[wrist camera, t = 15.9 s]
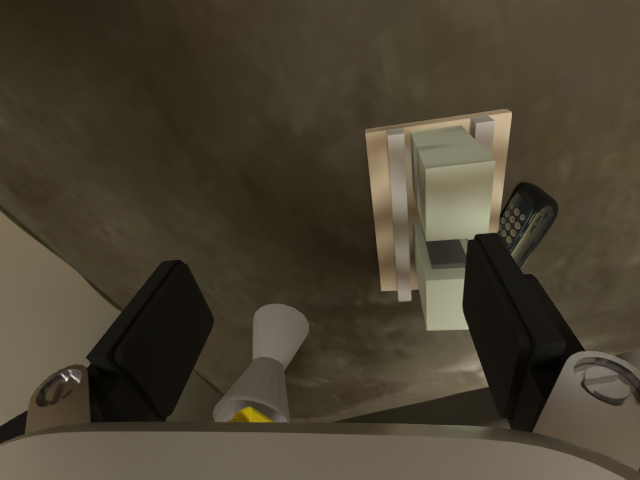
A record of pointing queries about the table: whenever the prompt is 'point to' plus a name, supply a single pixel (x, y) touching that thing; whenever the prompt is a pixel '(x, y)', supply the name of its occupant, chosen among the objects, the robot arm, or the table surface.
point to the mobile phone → (526, 221)
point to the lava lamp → (265, 368)
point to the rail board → (412, 207)
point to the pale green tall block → (440, 280)
